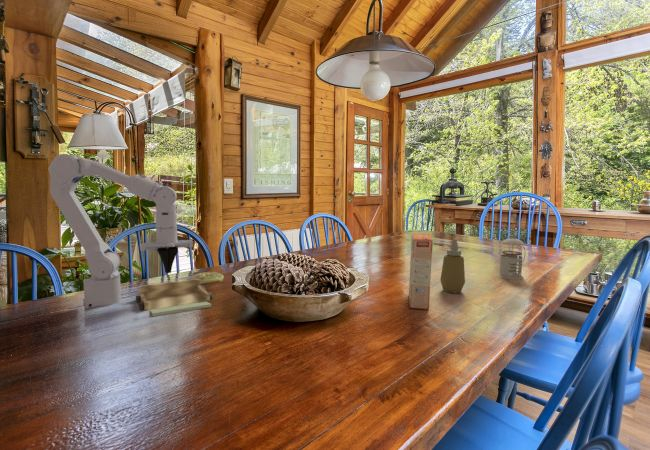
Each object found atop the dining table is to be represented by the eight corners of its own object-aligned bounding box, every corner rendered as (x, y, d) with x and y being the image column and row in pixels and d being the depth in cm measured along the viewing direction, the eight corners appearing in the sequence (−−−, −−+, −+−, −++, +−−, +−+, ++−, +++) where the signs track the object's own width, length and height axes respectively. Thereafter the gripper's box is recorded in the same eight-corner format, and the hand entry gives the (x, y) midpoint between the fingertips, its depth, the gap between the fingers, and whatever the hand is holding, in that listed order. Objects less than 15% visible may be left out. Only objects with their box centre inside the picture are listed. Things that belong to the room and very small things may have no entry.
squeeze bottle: (461, 288, 136) (464, 237, 134) (467, 295, 128) (470, 241, 126) (437, 287, 137) (440, 237, 134) (442, 294, 129) (444, 240, 126)
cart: (140, 316, 105) (140, 296, 104) (135, 304, 114) (134, 286, 114) (213, 304, 115) (212, 286, 114) (202, 294, 125) (202, 278, 124)
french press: (491, 274, 156) (495, 213, 153) (511, 272, 161) (515, 212, 158) (512, 280, 147) (516, 215, 144) (532, 277, 152) (537, 214, 149)
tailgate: (150, 315, 105) (153, 318, 100) (149, 310, 105) (152, 313, 100) (206, 306, 113) (211, 308, 109) (206, 301, 113) (211, 304, 109)
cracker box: (430, 310, 112) (433, 239, 110) (409, 309, 113) (411, 238, 111) (427, 296, 126) (430, 232, 123) (408, 295, 127) (410, 232, 125)
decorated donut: (196, 290, 130) (196, 279, 130) (190, 282, 139) (190, 272, 139) (227, 286, 136) (227, 275, 135) (219, 279, 145) (218, 269, 144)
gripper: (141, 230, 107) (143, 278, 109) (194, 227, 115) (196, 272, 116) (138, 227, 113) (140, 272, 115) (189, 225, 120) (190, 267, 122)
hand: (168, 272), depth 116 cm, fingers closed
